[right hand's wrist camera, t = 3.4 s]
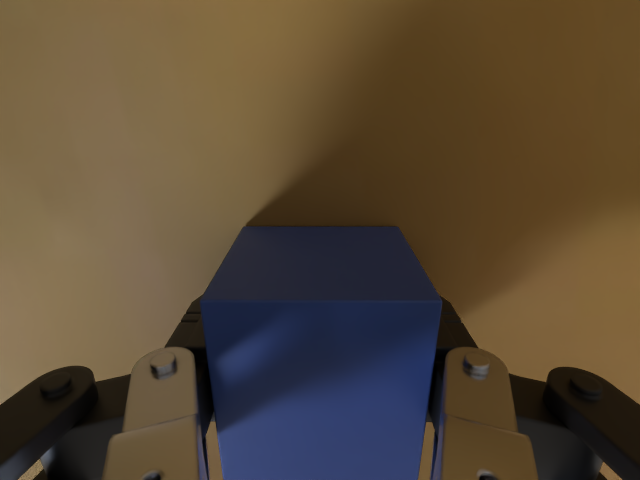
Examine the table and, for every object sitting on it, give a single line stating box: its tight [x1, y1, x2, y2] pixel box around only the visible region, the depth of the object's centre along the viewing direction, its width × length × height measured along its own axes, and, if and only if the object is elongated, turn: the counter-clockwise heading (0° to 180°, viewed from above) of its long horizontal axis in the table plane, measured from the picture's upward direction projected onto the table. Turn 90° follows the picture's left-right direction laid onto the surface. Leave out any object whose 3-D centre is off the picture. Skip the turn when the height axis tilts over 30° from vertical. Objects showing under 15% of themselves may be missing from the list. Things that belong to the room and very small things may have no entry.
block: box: [200, 226, 442, 480], centre depth 10 cm, size 5×5×5 cm
